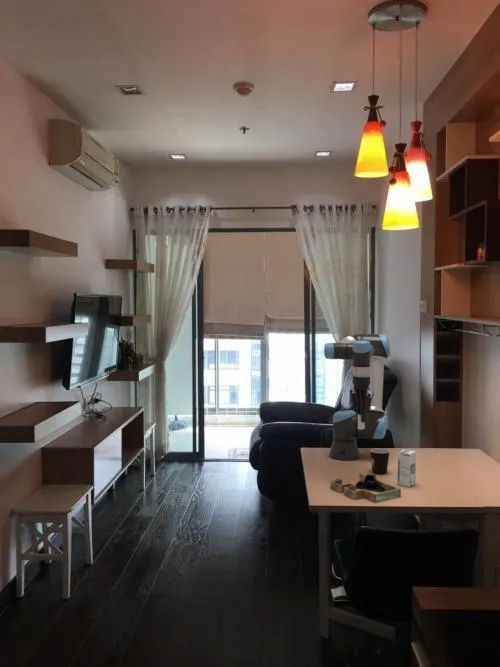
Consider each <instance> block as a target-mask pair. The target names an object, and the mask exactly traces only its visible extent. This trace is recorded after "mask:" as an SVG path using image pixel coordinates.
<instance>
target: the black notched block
mask: <svg viewBox="0 0 500 667" xmlns="http://www.w3.org/2000/svg"><path fill="white" fill-rule="evenodd" d="M376 475H377V474H368V473H367V474H366V476H365V477H366V478H365V482H362V481H360V480H358V481H357V483H355V484H354V485H355V486H356V489H357V488H358V489H360V488H361V489H365V490H371V491H372V490H373V491H380V492H385V491H384V490H385V488H383V487H381V486H380V485H378V484H376V483H377V480H378V479H377V476H376ZM368 481H372V482H374V483H372V482H368Z"/></svg>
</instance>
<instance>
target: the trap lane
mask: <svg viewBox="0 0 500 667" xmlns="http://www.w3.org/2000/svg"><path fill="white" fill-rule="evenodd" d="M366 475H367V474H366ZM366 475H365V474H364V473H359V481H362V482H365V478H366V477H365V476H366ZM368 482H372V481H368ZM329 483H330V485H329V486H330V489H331V490H333V491H335V492H337V493H341V494H342V493H343V495H344V496H346V497H348V498H350V499H352V500H359V499H366V500H368V501H371V502H372V503H379V502H383V501H387V500H388V501H389V500H393V499H397V498H401V497H402V494H401V493H402V489H401V488H398V487H397V486H394V485H391V484H388V483H387V482H384V481H381V480H379V479H377V483H376V484H378V485H380V486H381V487H383V488H385V490H384V491H380V492H377V493H374V492H372V491H369V490H368V489H365V488H363V489H360V490H357V487H356V486H355V485H356V484H352V483H351V482H348V483H343V479H341V478H340V477H337V478H336V479H335V480H331V481H330V482H329ZM372 483H374V482H372Z"/></svg>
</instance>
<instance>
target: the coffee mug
mask: <svg viewBox="0 0 500 667" xmlns="http://www.w3.org/2000/svg"><path fill="white" fill-rule="evenodd" d="M369 452H370V460H371V471H372V474H373V475H387V474H388V466H389V459H390V450H388V449H385V448H372V449H370V451H369Z"/></svg>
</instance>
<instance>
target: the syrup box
mask: <svg viewBox="0 0 500 667" xmlns="http://www.w3.org/2000/svg"><path fill="white" fill-rule="evenodd" d="M416 465H417V451H415V450H412V449H405V448H404V449H402V450H400V451H398V453H397V481H396V482H397V485H398V486H402V487H407V488H411V487H412V486H414V485H415V484H416V473H417V472H416V470H417V469H416V468H417V466H416Z"/></svg>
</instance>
